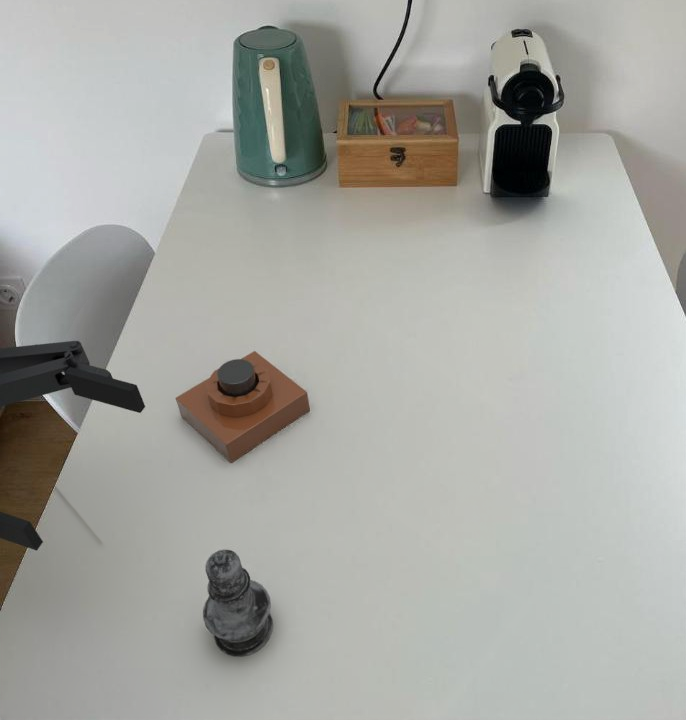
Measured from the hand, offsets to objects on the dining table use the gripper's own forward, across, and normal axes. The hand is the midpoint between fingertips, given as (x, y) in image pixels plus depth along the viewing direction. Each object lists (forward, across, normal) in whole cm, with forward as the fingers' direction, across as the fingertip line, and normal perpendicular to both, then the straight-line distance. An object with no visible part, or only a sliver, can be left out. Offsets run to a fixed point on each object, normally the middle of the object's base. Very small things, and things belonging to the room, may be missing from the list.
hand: (90, 463), depth 62 cm
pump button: (-3, -23, -17) cm, 29 cm away
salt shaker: (+10, +1, -20) cm, 22 cm away
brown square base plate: (-3, -23, -21) cm, 32 cm away
